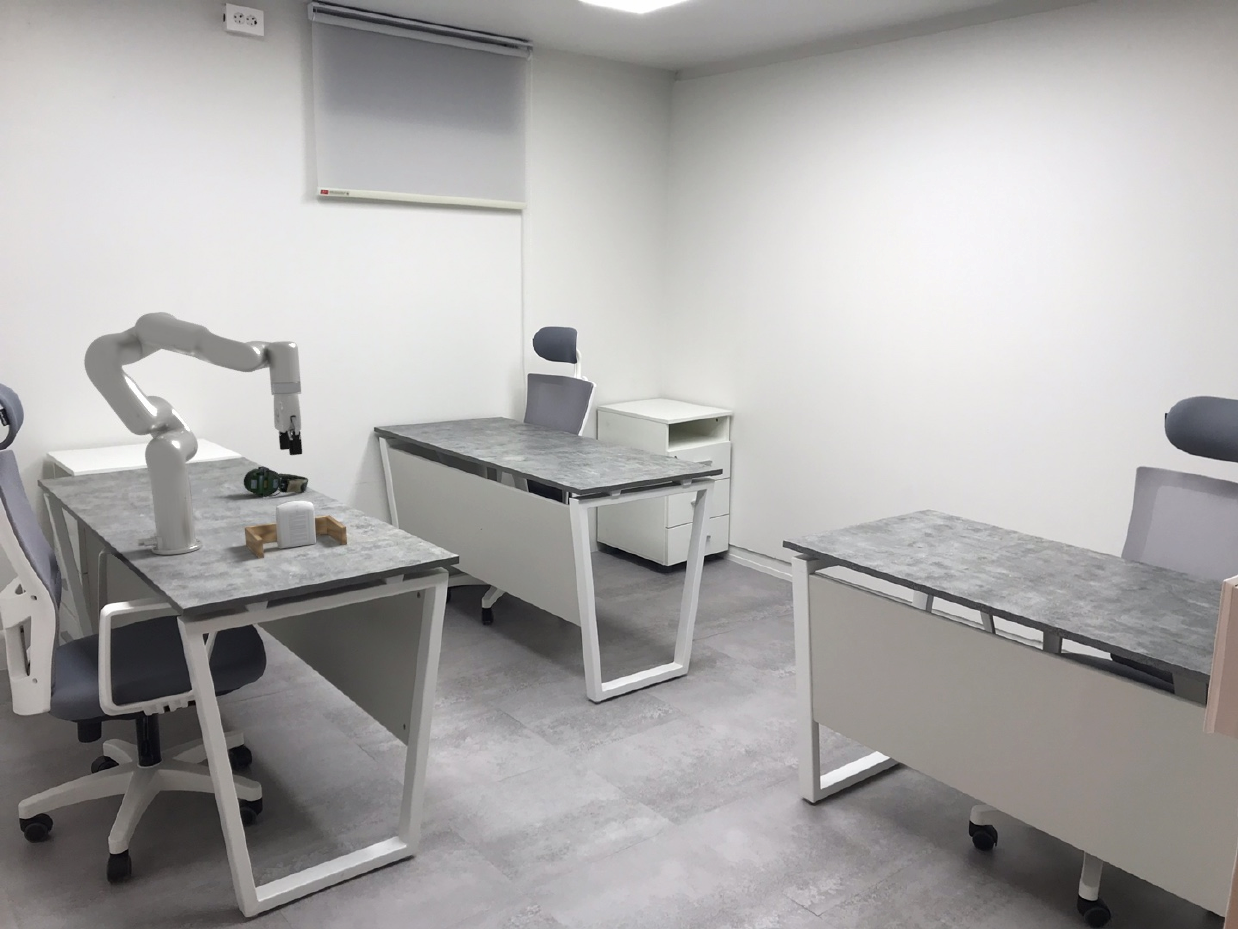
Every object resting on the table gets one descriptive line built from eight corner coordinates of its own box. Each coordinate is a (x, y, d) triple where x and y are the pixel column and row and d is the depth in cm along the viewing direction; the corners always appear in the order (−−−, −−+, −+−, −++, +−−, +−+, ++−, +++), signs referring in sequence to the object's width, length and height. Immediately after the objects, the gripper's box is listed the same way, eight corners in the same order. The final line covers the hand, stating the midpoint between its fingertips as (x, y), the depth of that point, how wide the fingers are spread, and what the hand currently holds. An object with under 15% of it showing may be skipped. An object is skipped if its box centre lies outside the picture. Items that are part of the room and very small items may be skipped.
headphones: (257, 486, 311) (316, 486, 324) (249, 453, 317) (307, 455, 330) (244, 509, 319) (303, 509, 332) (237, 477, 325) (294, 478, 338)
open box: (259, 558, 251) (257, 540, 250) (246, 544, 264) (244, 527, 263) (347, 544, 263) (346, 526, 262) (330, 532, 276) (329, 515, 275)
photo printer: (313, 540, 267) (310, 497, 265) (318, 544, 264) (315, 500, 261) (275, 546, 262) (272, 502, 259) (280, 550, 258) (276, 505, 256)
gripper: (263, 386, 259) (268, 448, 263) (279, 392, 245) (285, 458, 249) (291, 384, 263) (296, 445, 267) (309, 390, 249) (314, 455, 253)
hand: (291, 451), depth 258 cm, fingers open, 9 cm apart
